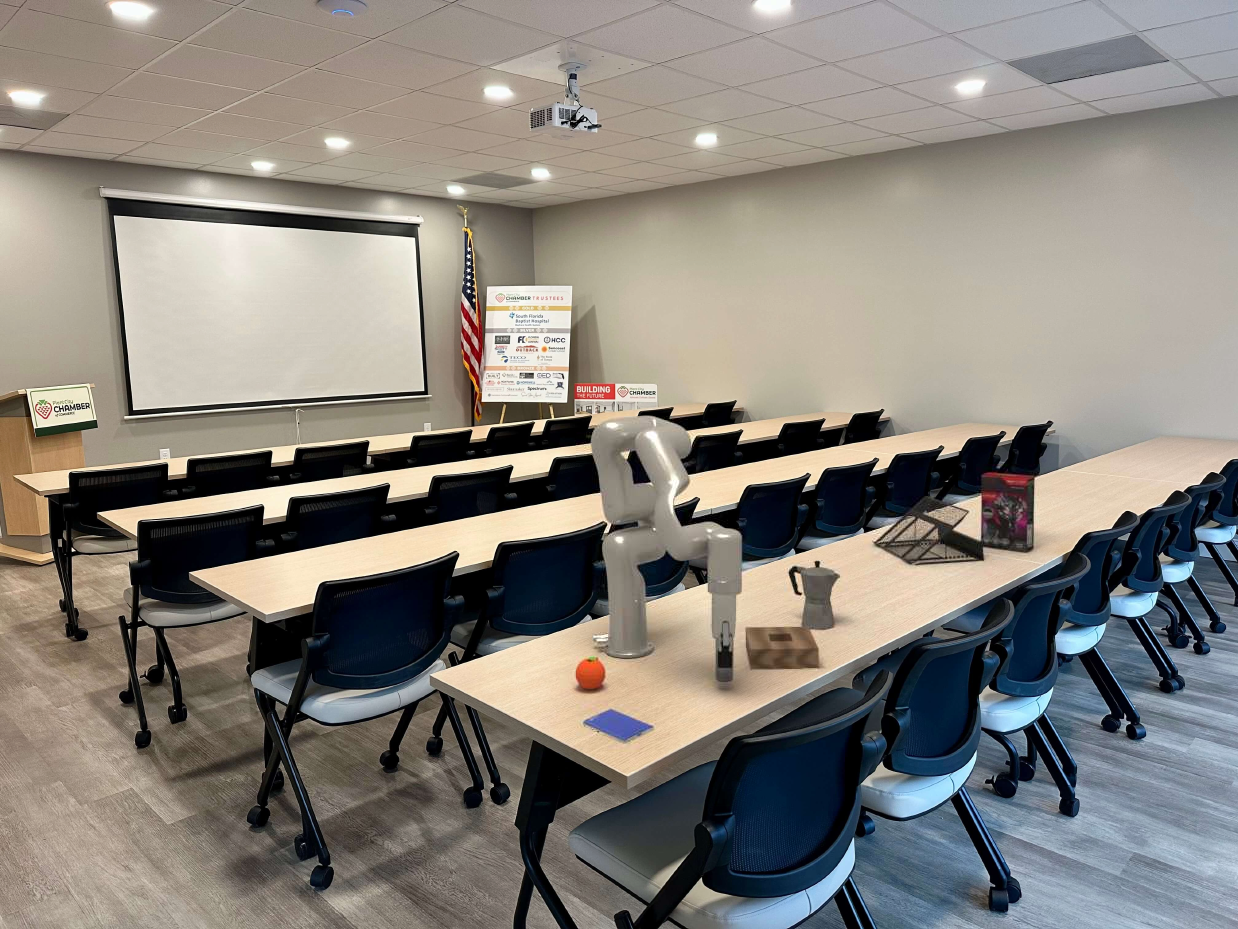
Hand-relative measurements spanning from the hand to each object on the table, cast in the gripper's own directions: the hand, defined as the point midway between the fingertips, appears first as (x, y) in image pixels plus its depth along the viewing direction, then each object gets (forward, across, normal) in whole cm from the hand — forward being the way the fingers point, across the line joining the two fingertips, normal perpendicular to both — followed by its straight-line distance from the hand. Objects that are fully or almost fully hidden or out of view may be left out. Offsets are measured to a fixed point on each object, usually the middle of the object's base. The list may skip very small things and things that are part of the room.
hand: (724, 662), depth 187 cm
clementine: (+7, -1, -30) cm, 31 cm away
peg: (+4, 0, 0) cm, 4 cm away
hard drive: (+7, +20, -22) cm, 31 cm away
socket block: (+6, -19, +15) cm, 25 cm away
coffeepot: (+7, -44, +27) cm, 52 cm away
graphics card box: (+7, -127, +109) cm, 167 cm away
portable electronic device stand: (+8, -124, +79) cm, 147 cm away
